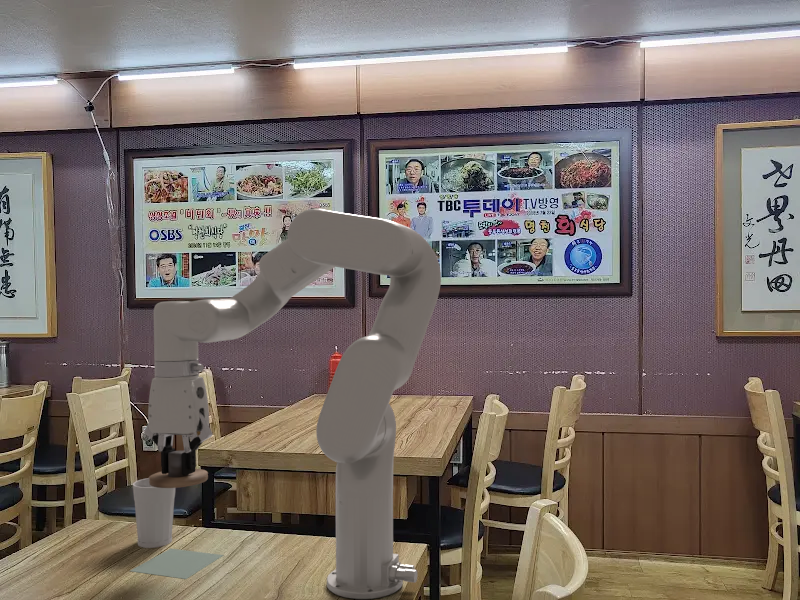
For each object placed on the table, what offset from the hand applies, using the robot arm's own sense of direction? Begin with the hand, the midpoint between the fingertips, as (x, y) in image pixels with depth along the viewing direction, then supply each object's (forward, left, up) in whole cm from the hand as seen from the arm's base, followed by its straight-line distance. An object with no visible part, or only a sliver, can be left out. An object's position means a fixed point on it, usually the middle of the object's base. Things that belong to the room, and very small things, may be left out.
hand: (178, 471), depth 126 cm
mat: (0, 0, -17) cm, 17 cm away
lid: (0, 0, -2) cm, 2 cm away
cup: (+11, -8, -17) cm, 22 cm away
